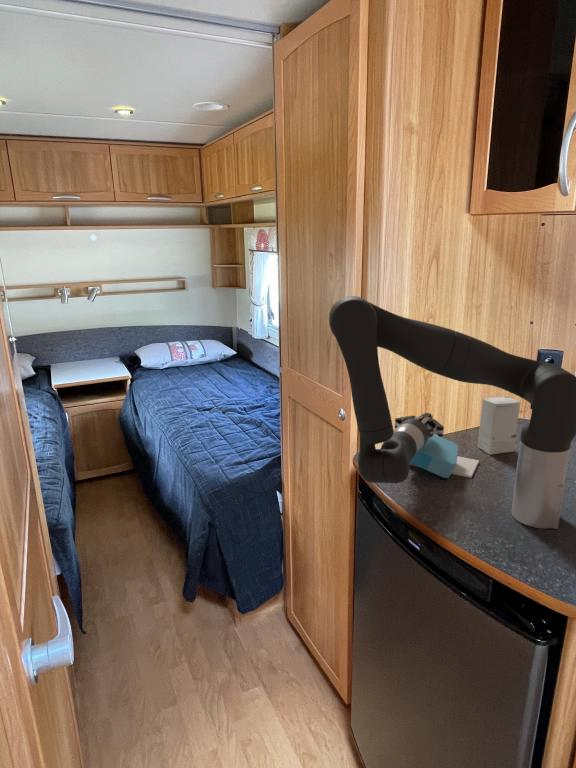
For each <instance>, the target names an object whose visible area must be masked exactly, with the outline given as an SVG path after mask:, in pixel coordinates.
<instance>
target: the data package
mask: <svg viewBox="0 0 576 768" xmlns="http://www.w3.org/2000/svg"><path fill="white" fill-rule="evenodd" d="M457 456H459V445H458V444H456V442H454V441H450V440H448V439H446V438H444V437H439V436H438V435H435V434H433V436H432V437H430V438H429V439H428V441H427V442H426V443H425V445H424V446H423V447H422V449H421V450H420V451H419V452H418V453H417V454H416V455H415V456H414V457H413V458H412V459H411V461H410V463H412V464H414V465H416V466H415V467H417V466H419V467H418V468H421V469H424V470H426V471H428V472H430V473H432V474H435V475H437V476H439V477H441V478H444V479H449V478H450V477H451V476H452V474H451V473H452V471H453V469H454V467H455V465H456V462H457Z"/></svg>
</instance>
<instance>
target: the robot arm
mask: <svg viewBox="0 0 576 768" xmlns="http://www.w3.org/2000/svg"><path fill="white" fill-rule="evenodd" d="M328 315H329V316H328V322H329V323H328V324H329V327H330V331H331V333H332V335H333V336H334V337H335V339H336V343H337V345H338V346H339V349H340V351H341V354H342V357H343V359H344V362H345V366H346V370H347V374H348V378H349V383H350V384H349V385H350V390H351V398H352V403H353V404H352V405H353V410H354V415H355V419H356V425H357V429H358V433H359V452H358V463H357V466H358V467H357V468H358V472H359V474H360V476H361V478H362V479H363V480H364V481H366V482H367V483H372V484H400V483H403V482H404V481H406V480H407V478H408V477H409V474H410V466H411V465H410V461H411V459H412V458H413V457H414V456H415V455H416V454H417V453H418V452H419V451H420V450H421V449H422V447H423V446H424V445H425V443H426V442H427V441H428V439H429V438H430V437H432V436H433V434H435V435H437V436H439V437H442V438H444V430H445V429H444V427H445V426H443V425H442V424H441V423H440V422H439V421H438V420H437V419H435V418H433V414H432V412H431V413H430V412H425V413H423V414H421V415H418V416H415V415H409V416H401V417H396V418H395V419H394V426H393V420H392V415H391V412H390V407H389V403H388V397H387V395H386V393H387V392H386V390H385V386H384V382H383V378H382V374H381V369H380V359H379V351H378V350H379V349H378V348H381V349H384V350H387V351H389V352H392V353H393V354H395V355H397V356H399V357H401V358H403V359H404V360H407V361H409V362H410V363H412V364H414V365H416V366H418V367H420V368H421V369H424V370H427V371H429V372H431V373H434V374H437V375H440V376H442V377H444V378H448V379H451V380H454V381H457V382H462V383H466V384H467V383H468V384H476V385H488V386H493V387H495V388H499V389H502V390H504V391H507V392H509V393H511V394H513V395H516V396H518V397H520V398H521V399H523V400H525V401H527V402H528V403H529V404H530V405H532V408H531V413H530V420H529V423H528V424H525V425H524V426H523V427H522V428H521V431H520V439H519V444H518V445H519V446H518V454H517V462H516V463H517V464H516V470H515V471H516V472H515V480H514V487H513V495H512V502H511V512H510V513H511V516H512V517H513V519H515V520H516V521H517V522H519V523H520V524H522V525H525V526H527V527H531V528H535V529H536V528H537V529H555V530H558V529H559V524H560V518H561V517H560V516H561V512H562V511H561V510H562V505H563V498H564V493H565V491H564V490H565V485H566V476H567V469H568V464H569V458H570V457H569V456H570V451H571V444H572V441H573V440H574V439H575V437H576V375H574V374H573V373H571V372H569V371H567V370H566V369H564V368H562V367H560V366H558V365H556V364H552V363H549V362H544V361H540V360H534V359H531V358H527V357H522V356H519V355H518V356H517V355H515V354H512V353H509V352H506V351H504V350H501V349H499V348H498V347H495V346H494V345H492V344H490V343H488V342H486V341H483V340H481V339H478V338H475V337H474V336H470V335H468V334H464V333H462V332H460V331H456V330H454V329H450V328H448V327H447V328H446V327H444V326H441V325H437V324H433V323H429V322H425V321H421V320H416V319H412V318H408V317H404V316H400V315H398V314H395V313H393V312H391V311H388V310H386V309H384V308H382V307H379V306H378V305H376V304H374V303H371V302H369V301H367V299H364V298H363V297H361V296H357V295H349V296H345V297H342V298H340V299H338V300H337V301H336V302H335V303H334V304H333V305H332V307H331V309H330V311H329V314H328ZM378 444H382V445H381V447H380V449H376V445H378Z"/></svg>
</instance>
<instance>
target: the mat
mask: <svg viewBox="0 0 576 768" xmlns="http://www.w3.org/2000/svg"><path fill="white" fill-rule="evenodd" d="M479 463H480V460H478V459H472V458H467V457H463V456H459V455H457V462H456V465H455V467H454V469H453V471H452V473H451V475H455V476H460V477H465V478H469V479H472V477H473V475H474V473H475V471H476V469H477V467H478V465H479ZM416 467H417V468H420V467H419V466H416Z"/></svg>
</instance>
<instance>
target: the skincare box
mask: <svg viewBox="0 0 576 768" xmlns="http://www.w3.org/2000/svg"><path fill="white" fill-rule="evenodd" d="M481 402H482V403H481V410H480V419H479V428H478V430H479V431H478V439H477V448H478V449H480V450H482V451H483V452H484V453H486V454H487V455H490V456H491V455H492V456H493V455H497V454H503V453H512V452H515V448H516V447H515V445H516V438H517V431H518V423H519V414H520V406H521V401H519V400H517V399H514V398H511V397H509V396H495V397H494V396H493V397H486V398H485V397H484V398H482V401H481Z"/></svg>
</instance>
